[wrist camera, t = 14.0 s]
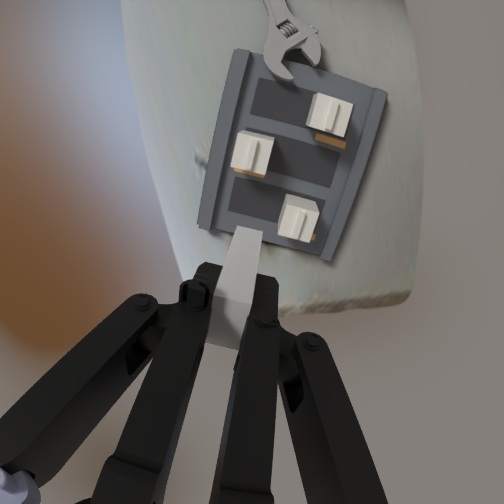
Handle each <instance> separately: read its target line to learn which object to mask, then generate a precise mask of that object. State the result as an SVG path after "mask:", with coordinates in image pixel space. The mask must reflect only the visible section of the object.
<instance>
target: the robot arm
mask: <svg viewBox="0 0 504 504" xmlns="http://www.w3.org/2000/svg"><path fill="white" fill-rule="evenodd" d="M262 234H263V231H259V230H254V229H250V228H246V227H242V226H238V225H237V228H236V230H235V233H234V236H233V239H232V242H231V245H230V248H229V251H228V253H227V256H226V259H225V262H224V265H223V266H220V265H216V264H212V263H208V262H204V263H203V264H201V265H200V266H199V267H198V269H197V271H196V274H195V275H194V277H193V279H191V280H186V281H184V282H183V283H182V284H181V285H180V290H179V302H177V303H174V304H158V302H157V300H156V298H154V297H153V296H151V295H148V294H135V295H133V296H131V297H129V298H128V299H127V300H126V301H125V302H124V303H122V304H121V305H120V306H119V307H118V308H116V309H115V310H114V311H113V312H112V313H111V314H110V315H109V316H108V317H106V318H105V319H104V320H103V321H102V322H101V323H100V324H98V325H97V326H96V327H95V328H94V329H93V330H92V331H91V332H90V333H89V334H88V335H86V336H85V337H84V338H83V339H82V340H81V341H80V342H79V343H77V344H76V345H75V346H74V347H73V348H72V349H71V350H70V351H69V352H68V353H67V354H66V355H65V356H63V357H62V358H61V359H60V360H59V361H58V362H57V363H56V364H55V365H54V366H53V367H52V368H51V369H50V370H49V371H48V372H47V373H45V375H43V376H42V377H41V378H40V379H39V380H38V381H37V382H36V383H35V384H34V385H33V386H32V387H31V388H30V389H29V390H28V391H27V392H26V393H25V394H24V395H23V396H22V397H21V398H20V399H19V400H18V401H17V402H16V403H15V404H14V405H13V406H12V407H11V408H10V409H9V410H8V411H7V412H6V413H5V414H4V415H3V416H2V418H0V504H39V503H40V502H41V496H40V491H39V489H38V488H40V487H42V486H43V485H44V484H46V483H47V482H48V481H50V480H51V479H52V478H53V477H54V476H55V475H56V474H57V473H58V472H59V471H60V470H61V468H62V467H63V466H64V465H65V463H66V462H67V461H68V459H70V457H71V456H72V455H73V454H74V452H75V451H76V450H77V449H78V447H79V446H80V445H81V444H82V443H83V441H84V440H85V439H86V438H87V437H88V435H89V434H90V433H91V432H92V430H93V429H94V428H95V427H96V426H97V424H98V423H99V422H100V421H101V420H102V418H103V417H104V416H105V415H106V413H107V412H108V411H109V410H110V409H111V407H112V406H113V405H114V404H115V403H116V401H117V400H118V399H119V398H120V397H121V395H122V394H123V393H124V392H125V391H126V389H127V388H128V387H129V386H130V385H131V383H132V382H133V381H134V380H135V379H136V377H137V376H138V375H139V374H140V373H141V371H142V370H143V369H144V368H145V367H146V365H147V364H148V363H149V362H150V361H151V359H152V358H153V359H152V362H151V364H150V367H149V369H148V371H147V374H146V376H145V378H144V380H143V383H142V385H141V388H140V390H139V392H138V395H137V397H136V400H135V402H134V405H133V407H132V410H131V412H130V414H129V417H128V420H127V422H126V424H125V427H124V430H123V432H122V435H121V437H120V440H119V442H118V445H117V448H116V450H115V452H114V454H113V455H111V456H109V457H108V458H107V460H106V461H105V464H104V466H103V468H102V471H101V474H100V476H99V479H98V481H97V484H96V487H95V490H94V493H93V495H92V498H88V499H84V500H82V501H79V502H77V503H75V504H163V501H164V495H165V489H166V484H167V480H168V477H169V473H170V469H171V466H172V462H173V458H174V454H175V451H176V447H177V443H178V439H179V436H180V432H181V429H182V425H183V421H184V418H185V414H186V411H187V407H188V403H189V400H190V396H191V393H192V389H193V386H194V382H195V378H196V375H197V372H198V368H199V365H200V361H201V358H202V354H203V350H204V344H205V342H206V343H210V344H214V345H218V346H223V347H227V348H231V349H236V350H239V352H238V355H237V358H236V362H235V366H234V374H233V380H232V385H231V390H230V396H229V402H228V406H227V412H226V417H225V423H224V428H223V433H222V439H221V444H220V449H219V455H218V460H217V465H216V470H215V476H214V481H213V486H212V492H211V497H210V501H209V504H274V497H273V495H272V493H271V489H270V486H271V485H270V484H271V474H272V461H273V448H274V433H275V419H276V402H277V385H279V389H280V392H281V397H282V401H283V405H284V410H285V413H286V418H287V422H288V426H289V430H290V434H291V438H292V442H293V446H294V451H295V455H296V459H297V463H298V467H299V471H300V475H301V479H302V483H303V487H304V491H305V495H306V499H307V503H308V504H388V502H387V499H386V496H385V493H384V490H383V487H382V484H381V482H380V479H379V476H378V473H377V471H376V468H375V465H374V462H373V459H372V457H371V454H370V451H369V449H368V446H367V443H366V441H365V438H364V436H363V433H362V430H361V428H360V425H359V422H358V420H357V417H356V415H355V412H354V410H353V407H352V405H351V402H350V399H349V397H348V394H347V392H346V390H345V387H344V384H343V382H342V379H341V377H340V374H339V372H338V369H337V367H336V365H335V362H334V360H333V357H332V355H331V352H330V350H329V347H328V345H327V343H326V342H325V340H324V339H323V338H322V337H321V336H319V335H317V334H315V333H311V332H303V333H301V334H299V335H298V336H295V335H293V334H291V333H289V332H287V331H286V330H284V329H283V328H282V327H281V326H280V322H279V320H278V318H277V317H278V292H279V284H278V282H277V280H276V279H275V278H274V277H270V276H266V275H261V274H257V267H258V261H259V254H260V248H261V241H262Z"/></svg>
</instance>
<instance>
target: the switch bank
mask: <svg viewBox="0 0 504 504" xmlns="http://www.w3.org/2000/svg"><path fill="white" fill-rule="evenodd" d="M281 63H282V64H283V65H284V66H285V68H286V69H287V70H288V71H289V72H290V73H291V75H292V76H293V77H294V80H293V81H285V80H281V79H279V78H278V77H276V76H274V75H273V74H272V73H271V72H270V71H269V70H268V68H267V67H266V65H265V62H264V57H263V55H262V54H257V53H252V52H250V51H249V50H243V49H237V50H234V51H233V55H232V59H231V63H230V67H229V71H228V75H227V79H226V83H225V87H224V91H223V95H222V100H221V104H220V108H219V113H218V117H217V122H216V126H215V131H214V136H213V140H212V145H211V150H210V155H209V160H208V165H207V170H206V175H205V181H204V186H203V191H202V197H201V203H200V208H199V214H198V220H197V224H199V228H201V229H205V230H209V231H210V229H211V228H215V229H219V230H223V231H227V232H231V233H235V230H236V228H237V225H238V226H242V227H246V228H250V229H254V230H259V231H263V234H262V240H263V241H267V242H271V243H275V244H279V245H283V246H286V247H290V248H294V249H298V250H302V251H306V252H310V253H314V254H317V255H319V257H320V259H323V260H327V261H330V260H331V258H333V256H334V254H335V251H336V249H337V246H338V244H339V241H340V239H341V236H342V233H343V231H344V228H345V226H346V223H347V220H348V218H349V215H350V212H351V210H352V207H353V204H354V201H355V198H356V196H357V193H358V190H359V187H360V184H361V181H362V178H363V175H364V173H365V170H366V167H367V164H368V160H369V157H370V154H371V151H372V148H373V145H374V142H375V138H376V135H377V132H378V128H379V125H380V122H381V118H382V115H383V111H384V108H385V104H386V101H387V97H388V94H387V92H386V91H383V90H381V89H378V88H372V87H370V86H367V85H365V84H362V83H359V82H357V81H354V80H351V79H348V78H345V77H342V76H340V75H337V74H333V73H330V72H327V71H324V70H321V69H317V68H314V67H311V66H307V65H303V64H300V63H296V62H292V61H288V60H284V59H283V60H282V62H281ZM316 93H321V94H324V95H327V96H331V97H334V98H337V99H340V100H343V101H346V102H348V103H351V104H353V107H352V110H351V114H350V117H349V121H348V124H347V128H346V131H345V135H344V137H341V136H338V135H335V134H332V133H329V132H326V131H323V130H319V129H316V128H313V127H309V126H307V125H306V121H307V117H308V114H309V110H310V106H311V103H312V99H313V95H314V94H316ZM242 130H245V131H250V132H254V133H258V134H262V135H266V136H270V137H274V142H273V146H272V150H271V154H270V158H269V161H268V165H267V169H266V173H265V175H262V174H258V173H254V172H250V171H246V170H242V169H238V168H233V167H230V166H231V161H232V157H233V152H234V148H235V143H236V139H237V135H238V132H240V131H242ZM286 193H287V194H290V195H294V196H298V197H301V198H305V199H308V200H312V201H315V202H316V204H317V207H318V210H319V216H318V219H317V222H316V225H315V228H314V231H313V234H312V237H311V239H310V242H309V243H308V242H304V241H300V240H296V239H293V238H289V237H285V236H281V235H278V220H279V216H280V213H281V209H282V206H283V202H284V199H285V196H286Z"/></svg>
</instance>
